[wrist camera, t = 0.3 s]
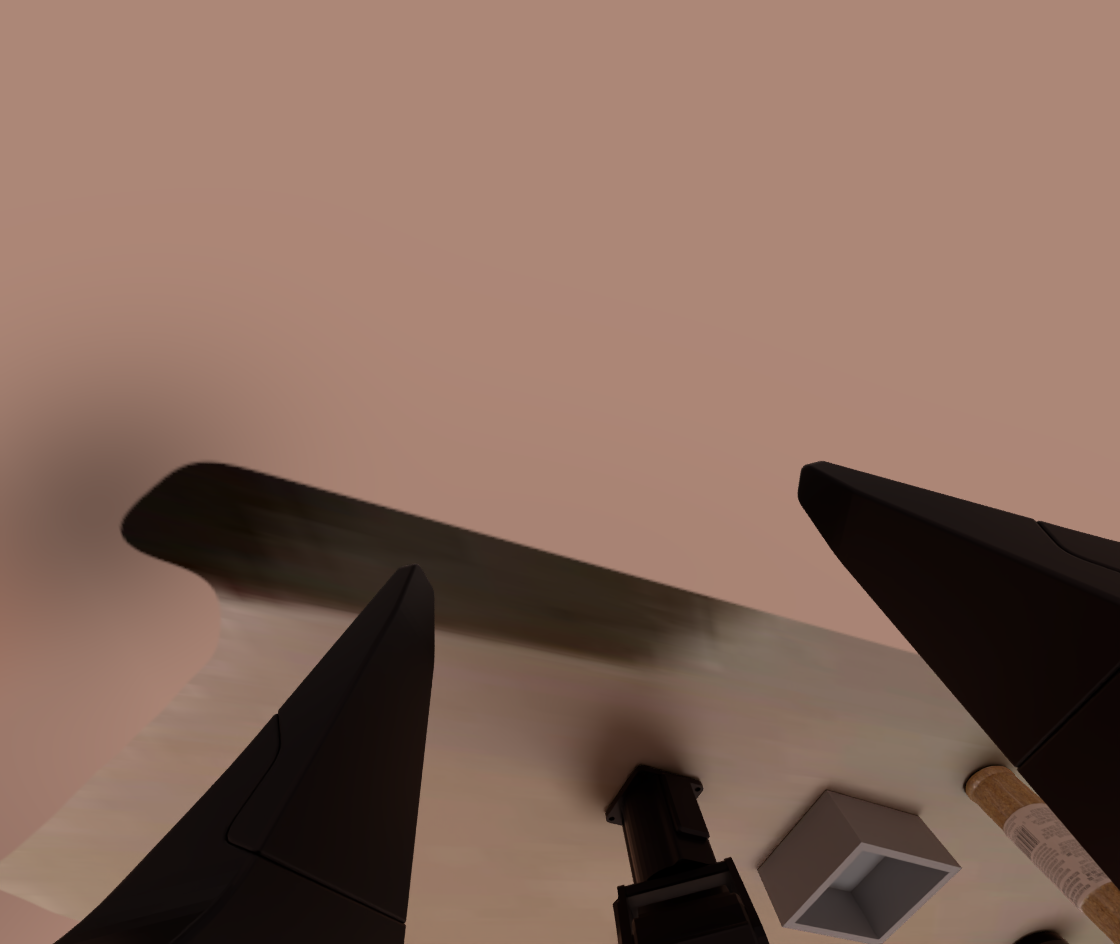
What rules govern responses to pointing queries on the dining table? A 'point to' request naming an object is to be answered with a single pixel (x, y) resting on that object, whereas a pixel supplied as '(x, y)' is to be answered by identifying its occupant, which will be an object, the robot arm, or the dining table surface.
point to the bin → (855, 870)
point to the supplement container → (1043, 939)
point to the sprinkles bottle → (1047, 845)
